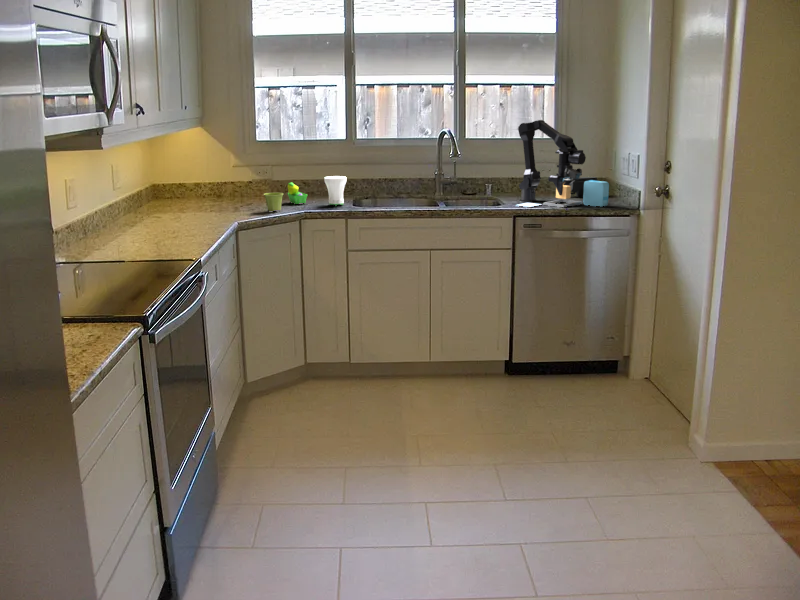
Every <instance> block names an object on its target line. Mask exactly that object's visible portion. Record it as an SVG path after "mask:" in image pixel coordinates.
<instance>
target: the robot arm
mask: <svg viewBox="0 0 800 600" xmlns="http://www.w3.org/2000/svg"><path fill="white" fill-rule="evenodd" d="M517 130H518V134H519V138H520V139H521V140H522V145H523V146H522V147H523V155H524V166H525V170H524V173H523V178H522V181H521V182H520V183H519V184H518V187H519V190H521V196H520V197H521V199H519V201H522V202H527V203H531V202H535V201H537V199H536V189H538V186H539V184H540V183H541V179H542V178H541V172H540V170H537V169H536V160H535V150H534V142H533V141H534V138H535V135H536V131H538V130H539V131H540V132H541V133H543V134H544V135H546V136H547V137H548V138H550V139H551V140H552V141H553V142H554V145H555V146H556V147H557V148H558V149H557V150H556V151H555V154H557V155H558V164H556V168H557V169H558V170H557V173H556V174H552V175H549V176H548V177H547V178H548V179H547V180H548V181H547V182H549V183H550V182H551V183H553V184H554V185H555V189H556V188H557V190H558V193H559V195H562V191H563V185H566V186H570V185H571V183H572V182H574V181H575V180H573V179H579V178H580V177H581V176H582V175H583V170H582V168H577V169H574V168H573V164H574V165H583V164H585V162H586V154H585V152H584V150H583V149H579V150H578V148H577V145H576V144H575V142H574V138H572V137H571V136H568V135H566V134H564V133H561V132H559V131H558V130H556V128H554V127H552V126H551V125H549V123H546V121H545V120H543V119H537V120H534V121H530V122H522V123H520V124H519V126H518V128H517Z"/></svg>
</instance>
